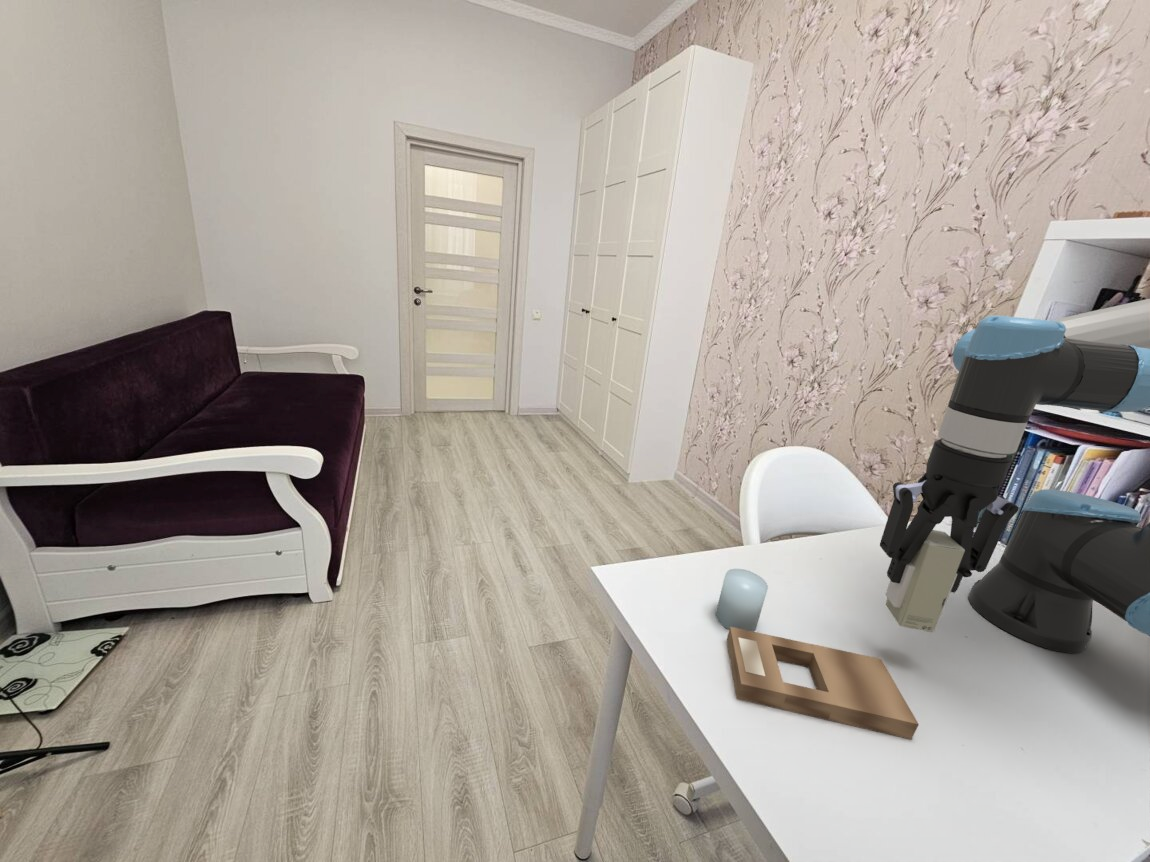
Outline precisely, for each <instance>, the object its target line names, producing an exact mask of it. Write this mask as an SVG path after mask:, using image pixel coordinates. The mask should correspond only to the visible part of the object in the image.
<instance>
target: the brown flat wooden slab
mask: <svg viewBox="0 0 1150 862" xmlns="http://www.w3.org/2000/svg"><path fill="white" fill-rule="evenodd" d="M726 645H727V646H726V647H727V650H728V651H727V652H728V655H729V663H730V667H731V674H732V679H733V683H734V684H733V685H734V691H735V696H736V699H737V700H741V701H745V702H750V703H754V704H758V705H763V706H767V707H771V708H776V709H779V710H784V711H788V712H792V713H797V714H801V715H805V716H810V717H813V718H818V719H822V720H827V721H831V722H835V723H841V724H844V725H848V726H852V727H857V728H861V729H867V730H870V731H875V732H877V733H878V732H879V733H883V734H887V735H892V736H896V737H901V738H904V739H908V740H913V737H914V735H915V733H916V731H917V728H918V727H919V726H920V725H919V723H918V720H917V719H916V717H915V715H914V714H913V711H912V710H911V708H910V707H909V704H908V703H907V701H906V700H905V698H904V696H903V694H902V693H901V691H900V689H899V687H898V685H897V684H896V682H895V680H894V679H893V677H892V675H891V673H890V672H889V670H888V668H887V666H886V665H885V663H884V661H883V659H882V658H878V657H875V656H870V655H865V654H860V653H855V652H851V651H846V650H842V649H836V648H831V647H827V646H823V645H818V644H813V643H809V642H804V641H800V640H799V641H798V640H794V639H791V638H786V637H782V636H781V637H780V636H775V635H771V634H766V633H762V632H759V631H758V632H756V631H754V632H753V631H748V630H744V629H739V628H734V627H730V629H729V630H728V633H727V637H726ZM778 661H779V662H784V663H788V664H794V665H796V666H797V665H798V666H801V667H806V668H808V670H809V672H810V674H811V677H812V680H813V683H814V686H815V688H816V689H815V688H811V687H806V686H803V685H797V684H794V683H788V682H784V680H783V677H782V674H781V670H780V668H779V667H780V666H779V664H778Z"/></svg>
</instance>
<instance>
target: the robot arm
mask: <svg viewBox="0 0 1150 862" xmlns="http://www.w3.org/2000/svg"><path fill="white" fill-rule="evenodd" d="M952 364H953V365H954V367H955V369H956V370H957V371H958V373H957V378H956V380H955V382H954V386H953V389H952V392H951V395H950V398H949V401H948V405H947V407H946V410H945V412H944V415H943V418H942V421H941V424H940V426H939V429H938V432H937V435H938V437H939V438H940V439H937V440H936V441H934V442H933V445H932V449H931V451H930V453H929V456H928V460H927V462H926V469H925V472H924V474H923V475H922V476H921V477H920V478H919V479H918V481H917V482H915V483H908V484H903V483H902V482H899V481H898V482H895V483H893V485H892V492H893V502H892V503H891V504H892V505H891V508H890V509H889V510H890V511H889V514H888V516H887V521H886V523H885V527H884V529H883V533H882V536H881V538H880V542H879V547H880V548H881V549H882V551H883V552H884V553H885V555H887V557H888V558H890V559H891V560H890V563H889V566H888V569H887V571H886V575H887V578H888V579H889V580H890V581H889V584H888V587H887V589H886V591H885V596H886V599H887V598H888V599H889V600H890V602H891V603H892V605H893V606H894V607H897V608H900V607H901V604H902V602H903V599H904V596H905V594H906V591H907V588H908V586H909V583H910V580H911V577H912V575H913V572H914V570H915V567H914V565H913V564H912V563H911V560H912V559H913V558H914V556H915V555H916V553H917V552H918V550H919V549H920V547H921V546H922V544H923V543H924V542H925V540H926V539H927V537H928V536H929V534H930V533H931V531H932V530H934V529H935V527H936V525H939V524H941V523H942V522H943V520H944V519H945V518H947V517H948V518H950V517H951V525H950V526H951V527H950V533H949V534H950V535H949V536H950V537H951V538H952V539H953V540H954V541H956V542H957V543H958V544H959V545H960V546H961V547H962V548H964V549H965V552H964V554H963V557H962V559H961V562H960V565H959V567H958V570H957V572H956V575H955V577H954V580H953V582H952V585H951V588H950V590H949V593H948V595H947V598H946V601H945V603H944V606H943V608H942V611H941V614H940V616H941V615H942V613H943V611H944V609H945V606H946V604H947V602H948V600H949V599H948V598H949V596H950V593H955V592H957V591H958V590H959V586H960V584H961V582H962V580H963V578H969V577H971V576H972V575H973V572H972V571H976V572H978V573H983V572H984V571H986V569H987V566H988V565H989V563H990V561H991V559H992V555H993V554H994V551H995V550H996V547H997V545H998V542H999V540H1000V538H1001V536H1002V535H1003V532H1004V530H1005V527H1006V525H1007V523H1008V522H1009V521H1010V520H1011V519H1012V518H1013V517H1014V516H1015V515H1016V514H1017V513H1018V512H1019V510H1020V508H1019V506H1017V505H1016V504H1015V503H1014V502H1012V501H1010V500H1009V499H1007V498H1005V497H1004V496H999V492H998V487H1000V486H1001V485H1003V482H1004V480H1005V478H1006V475H1007V474H1008V470H1009V468H1010V465H1011V463H1012V458H1011V457H1010V456H1009V455H1012V454H1013V455H1014V454H1015V453H1016V452H1017V451H1018V447H1019V446H1020V442H1021V440H1022V438H1023V436H1024V432H1025V430H1026V427H1027V424H1028V422H1029V421H1030V417H1031V415H1032V413H1034V412H1033V411H1034V409H1035V407H1036V405H1040V406H1045V405H1046V406H1053V407H1063V408H1073V409H1081V410H1089V411H1090V410H1091V411H1097V412H1100V413H1111V412H1113V413H1115V412H1116V413H1131V412H1137V411H1142V410H1145V409H1147V408H1149V407H1150V298H1147V299H1141V300H1137V301H1133V302H1128V303H1124V304H1119V305H1115V306H1110V307H1106V308H1101V309H1097V310H1093V311H1092V310H1091V311H1087V312H1082V313H1078V314H1077V313H1076V314H1073V315H1069V316H1064V317H1061V318H1056V319H1055V318H1054V319H1050V320H1049V319H1048V320H1046V319H1037V318H1028V317H1026V318H1025V317H1016V316H1005V315H998V314H997V315H996V314H995V315H994V314H993V315H988V316H985V317H984V318H982V319H981V320H980V321H979V322H978V324H977V326H976V328H973V329H971V330H970V331H967V332H966V333H965V334H963V335H962V336H961V337H960V338H959V339H958V340H957V342H956V343H955V346H954V347H953V351H952ZM919 494H920V495H921V497H922V500H921V501H920V502H919V504H918V506H917V510H916V511H917V512H916V513H915V515H914V517H913V518H912V520H911V521H910V519H911V515H912V512H913V510H914V509H913V508H914V503H917V502H918V496H919ZM984 509H985V510H984ZM983 510H984V512H983V513H982V515H981V517H980V519H979V513H980V512H981V511H983ZM1141 517H1142V516H1141V513H1140V512H1139V511H1138V510H1137V509H1134V508H1132V507H1129V506H1127V505H1124V504H1121V503H1117V502H1115V501H1110V500H1107V499H1103V498H1100V497H1099V498H1098V497H1095V496H1092V495H1091V496H1090V495H1087V494H1083V493H1076V492H1073V491H1068V490H1059V489H1049V488H1047V489H1039V490H1037V491H1035V492H1034V493H1032V494H1031V497H1030V498H1029V500H1028V501H1027V503H1026V504H1025V506H1024V507H1022V509H1021V512H1020V515H1019V517H1018V519H1017V522H1016V524H1015V526H1014V528H1013V531H1012V533H1011V535H1010V538H1009V540H1008V542H1007V544H1006V546H1005V549H1004V550H1003V553H1002V555H1001V557H1000V559H999V561H998V562H997V564H996V565H994V566H993V567H992V568H991V569H990V570H989V571H988V572H986V574H985V575H984V576H982V578H981V579H979V580H976V581H975V582H974V583H973V585H972V587H971V589H970V591H969V594H968V600H969V601H968V602H969V603H970V605H971V606H972V607H973V608H974V609H975V611H977V612H978V613H979V614H980V615H981V616H982V617H984V618H985V619H986V620H987V621H989V622H990V623H992V624H993V625H995V626H996V627H997V628H1000V629H1001V630H1003V631H1005V632H1007V633H1008V634H1011V635H1013V636H1014V637H1016V638H1019V639H1020V640H1023V641H1026V642H1027V643H1031V644H1033V645H1036V646H1038V647H1042V648H1044V649H1048V650H1051V651H1056V652H1060V653H1065V654H1066V653H1069V654H1076V653H1077V654H1078V653H1081V652H1084V651H1085V650H1086V649H1087V646H1088V645H1089V643H1090V641H1091V639H1092V634H1093V631H1092V629H1091V628H1092V623H1093V606H1094V605H1093V602H1094V601H1095V602H1096V603H1097V604H1099V605H1101V606H1102V607H1104V608H1106V609H1107V610H1109V611H1110V612H1111V613H1113V614H1114V615H1116V616H1118V617H1119V618H1120V619H1122V620H1124V622H1127V624H1128V625H1129V626H1130V627H1132V628H1133V629H1135V630H1137V631H1138V632H1140V633H1143V634H1145V635H1147V636H1148V637H1150V521H1149V522H1148V523H1147V524H1146V525H1145V526H1144V527H1142V528H1140V527H1139V526H1138V524H1140V523H1141V522H1142V520H1141ZM978 521H979V523H978ZM909 522H910V523H909ZM975 528H976V529H975ZM974 530H975V531H974Z"/></svg>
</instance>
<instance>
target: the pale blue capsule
mask: <svg viewBox="0 0 1150 862" xmlns="http://www.w3.org/2000/svg"><path fill="white" fill-rule="evenodd" d="M768 587H769V585H768V583H767V581H766V580H765V579H763V577H762V576H760V575H758V574H757V573H755V572H753V571H751V570H747V569H744V568H730V569H728V570H726V572H725V575H724V579H723V582H722V587H721V591H720V594H719V598H718V603H717V605H716V610H715V618H716V620H717V622H718V623H719V624H720V625H721V626H722V627H724V628H725V629H727V630H728V631H729V629H730V627H734V628H739V629H744V630H748V631H753V632H756V629H757V627H758V623H759V620H760V615H761V613H762V609H763V606H764V602H765V599H766V596H767V593H768V589H769V588H768Z"/></svg>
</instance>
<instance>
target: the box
mask: <svg viewBox="0 0 1150 862" xmlns="http://www.w3.org/2000/svg"><path fill="white" fill-rule="evenodd" d="M964 552H965V549H964V548H962V547H961V546H960V545H959V544H958V543H957V542H956V541H954V540H953V539H952V538H951V537H950V535H949V534H948V533H946V532H945V531H941V530H936V529H933V530H932V531H931V533H930V534H929V536H928V537H927V539H926V540H925V542H924V543H923V544H922V546H921V547H920V549H919V550H918V552H917V553H916V555H915V556H914V558H913V559H912V560H911V563H912V564H913V565H914V567H915V570H914V572H913V575H912V577H911V580H910V583H909V586H908V588H907V591H906V594H905V596H904V599H903V602H902V604H901V607H900V608H897V607H894V606H893V605H892V603H891V602H890V600H889V599H888V598H887V597H886V601H885V606H886V607H887V609H888V611H889V612H890V614H891V615H892V617H893V618H894V620H895V621H896V622H897V624H898V626H899V627H903V628H906V629H911V630H912V629H913V630H918V631H924V632H929V633H934V632H935V629H936V626H937V624H938V622H939V618H940V616H941V615H942V614H941V611H942V608H943V606H944V603H945V601H946V598H947V595H948V593H949V590H950V588H951V585H952V582H953V580H954V577H955V575H956V572H957V570H958V567H959V565H960V562H961V559H962V557H963V554H964ZM944 607H945V606H944ZM942 612H943V611H942ZM940 614H941V615H940Z"/></svg>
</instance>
